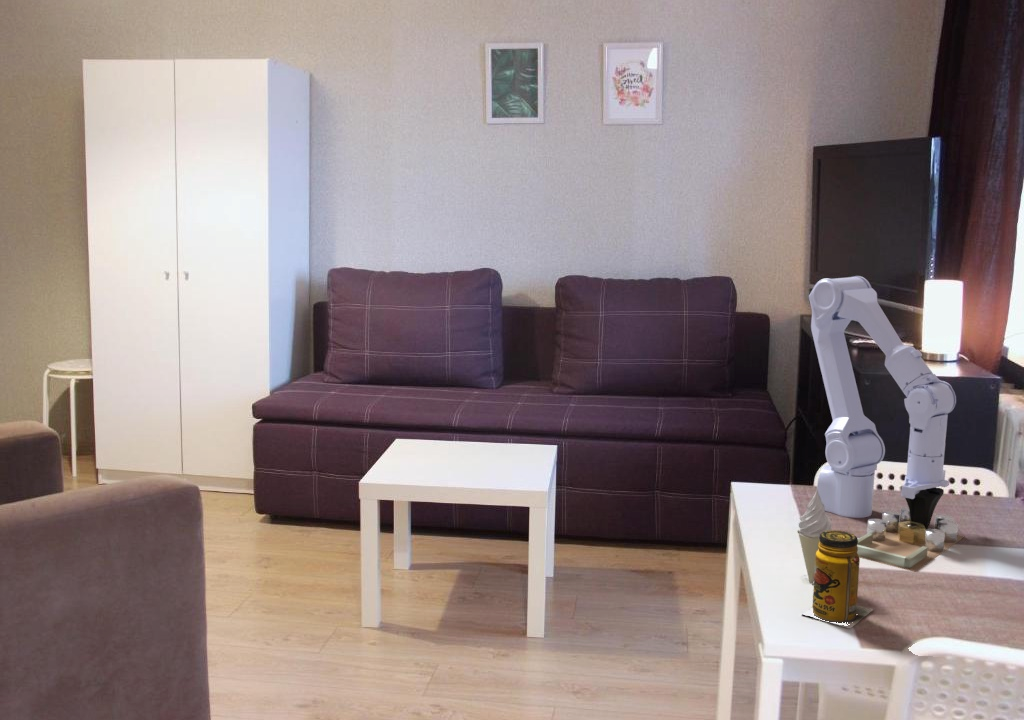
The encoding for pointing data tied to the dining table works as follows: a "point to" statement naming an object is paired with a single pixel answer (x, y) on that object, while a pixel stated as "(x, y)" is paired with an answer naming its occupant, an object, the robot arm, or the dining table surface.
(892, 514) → the spacers
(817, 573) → the condiment
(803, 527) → the ice cream cone
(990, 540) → the dining table surface
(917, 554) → the tan tray
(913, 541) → the nut
